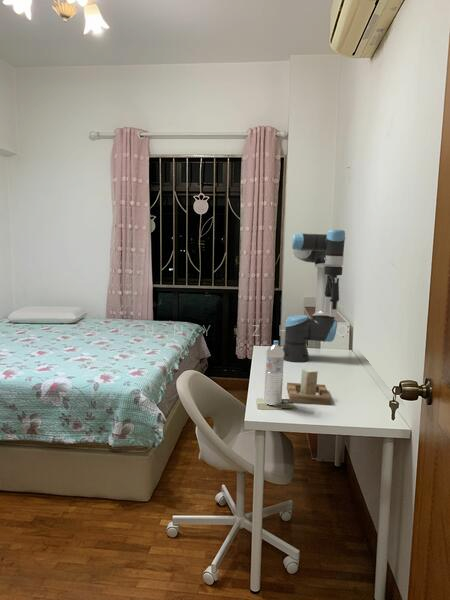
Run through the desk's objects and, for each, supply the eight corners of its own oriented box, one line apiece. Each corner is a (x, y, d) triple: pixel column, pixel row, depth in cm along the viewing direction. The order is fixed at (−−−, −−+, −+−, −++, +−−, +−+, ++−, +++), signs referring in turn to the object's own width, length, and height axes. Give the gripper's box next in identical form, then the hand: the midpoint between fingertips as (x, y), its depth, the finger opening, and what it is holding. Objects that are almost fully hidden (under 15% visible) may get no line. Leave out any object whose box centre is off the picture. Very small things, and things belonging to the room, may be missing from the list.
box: (305, 398, 174) (307, 372, 173) (299, 394, 178) (301, 369, 176) (316, 397, 176) (318, 371, 175) (310, 393, 180) (312, 367, 178)
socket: (286, 388, 185) (287, 382, 185) (324, 390, 184) (324, 384, 184) (290, 402, 169) (290, 396, 169) (331, 404, 169) (331, 398, 168)
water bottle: (263, 399, 171) (266, 338, 168) (280, 400, 171) (284, 339, 168) (264, 406, 165) (267, 342, 161) (282, 407, 164) (286, 343, 161)
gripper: (320, 263, 199) (317, 308, 202) (330, 267, 174) (326, 318, 177) (336, 264, 198) (333, 309, 202) (348, 268, 174) (344, 319, 177)
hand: (330, 313), depth 190 cm, fingers open, 13 cm apart
